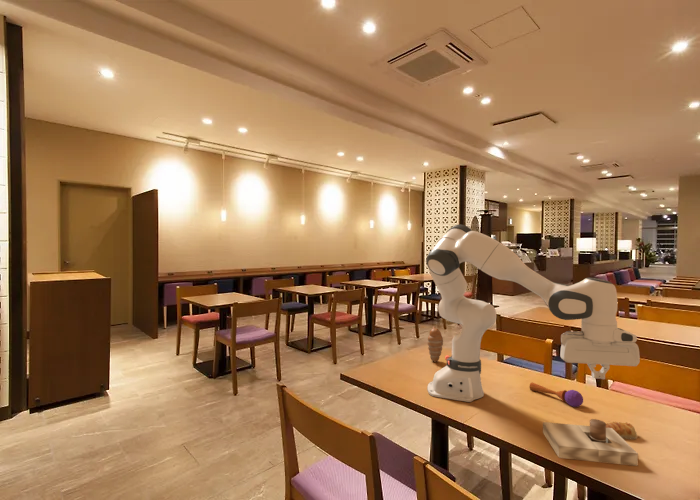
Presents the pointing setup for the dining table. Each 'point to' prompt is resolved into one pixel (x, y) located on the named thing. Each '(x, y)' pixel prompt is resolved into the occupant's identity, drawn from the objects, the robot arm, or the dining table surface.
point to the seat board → (588, 444)
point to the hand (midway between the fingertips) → (598, 378)
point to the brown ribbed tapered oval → (435, 344)
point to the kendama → (561, 394)
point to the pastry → (623, 429)
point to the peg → (597, 431)
